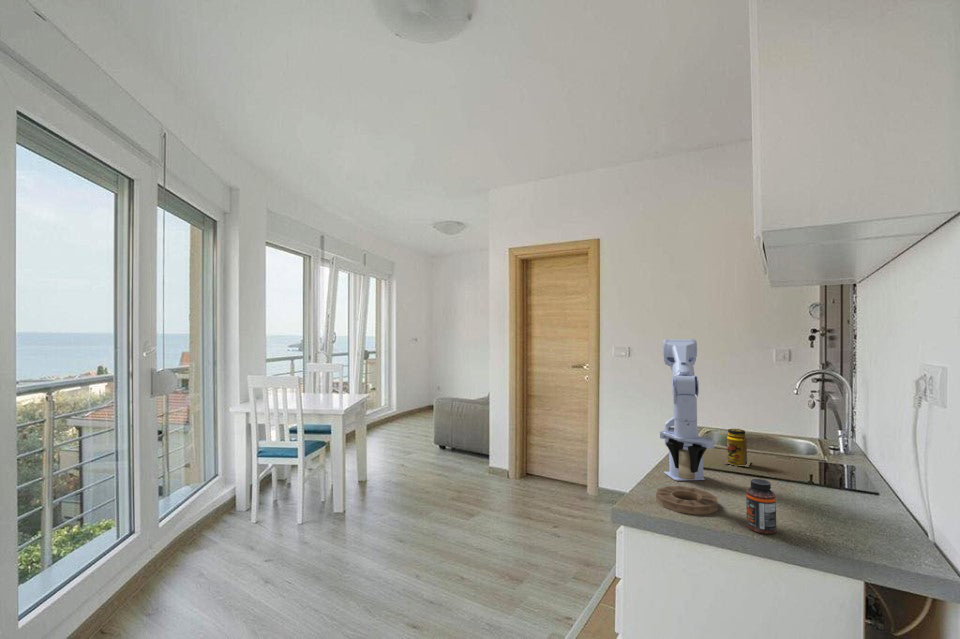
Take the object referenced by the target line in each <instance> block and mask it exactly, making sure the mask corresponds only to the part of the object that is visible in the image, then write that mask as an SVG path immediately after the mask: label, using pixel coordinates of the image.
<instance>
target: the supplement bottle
mask: <svg viewBox="0 0 960 639" xmlns="http://www.w3.org/2000/svg"><path fill="white" fill-rule="evenodd" d="M771 484H772V483H771V481H768V480H766V479H761V478H753V479H751V480H750V487H748V488H747V489H746V494H745V495H746V496H745V497H746V498H745V499H746V501H745V503H746V504H745V505H746V525H747V528H748V529H749V530H751V531H753V532H755V533H758V534H763V535H773V534H775V533H776V532H777V503H776V502H777V498H776V497H777V496H776V493H775V492H774V491H773V490H771V489H772V486H771Z"/></svg>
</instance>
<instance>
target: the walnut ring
mask: <svg viewBox="0 0 960 639" xmlns="http://www.w3.org/2000/svg"><path fill="white" fill-rule="evenodd" d="M655 501H656V502H657V503H658V504H659V505H660V506H661V507H662V508H665V509H668V510H670V511H673V512H676V513H682V514H687V515H688V514H689V515H710V514H713V513H715V512H717V511H719V510H718V509H719V505H718V504H719V503H718V502H719V501H718V496H716V495H714V494H712V493H711V492H709V491H707V490H702V489H700V488H699V489H698V488H696V487H691V486H690V487H689V486H684V485H683V486H682V485H668V486H663V487H659V488H657V489H656V492H655Z"/></svg>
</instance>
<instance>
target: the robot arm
mask: <svg viewBox="0 0 960 639" xmlns="http://www.w3.org/2000/svg"><path fill="white" fill-rule="evenodd" d="M662 343H663V344H662V345H663V346H662V347H663V349H662V350H663V351H662V352H663V353H662V355H663V362H664V365H665V366H669V367H670V370H671V373H672V378H671V393H672V401H673V402H672V403H673V404H672V405H673V406H672V407H673V408H672V409H673V411H672V412H673V416H672V417H671V418H669V419H668V420H666V421H665V423H664V430H662V431H661V430H660V432H659V438H660V439H662V440H663V439H664V445H665V446H666V447H667V449H668V460H669V461H668V462H669V464H668V466H669V469H668V470H669V471H665V470H664V471H663V473H664V474H665V475H666V476H668V477H669V478H671V479H673V480H674V481H677V482H678V481H681V482H682V481H684V482H685V481H704V480H706V479H705V477H704V459H703V455H704V454H705V452H706V450H707V449H708V450H712V449H714V448H715V440H712V439H709V438H705V437H702V436H699V430H698V397H699V393H700V386H699V385H700V382H699V379H698V378H699V377H698V375H697V374H696V373H695V369H694V368H695V367H694V366H695V364H696V361H697V357H698V343H697V340H696V339H695V338H692V339H691V338H690V339H688V338H687V339H686V338H685V339H683V338H681V339H679V338H678V339H677V338H672V339H671V338H664V339H663V342H662ZM681 449H685V450H688V451H689V455H690V467H691V472H692V473H695V479H691V480H690V479H683V478H680V477H679V450H681Z"/></svg>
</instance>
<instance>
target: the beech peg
mask: <svg viewBox="0 0 960 639" xmlns="http://www.w3.org/2000/svg"><path fill="white" fill-rule="evenodd" d="M679 477H680V478H683V479H690V480H689V481H692V480H691V479H695V473H692V472H691V467H690V455H689V451H688V450H685V449H681V450H679Z"/></svg>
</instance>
